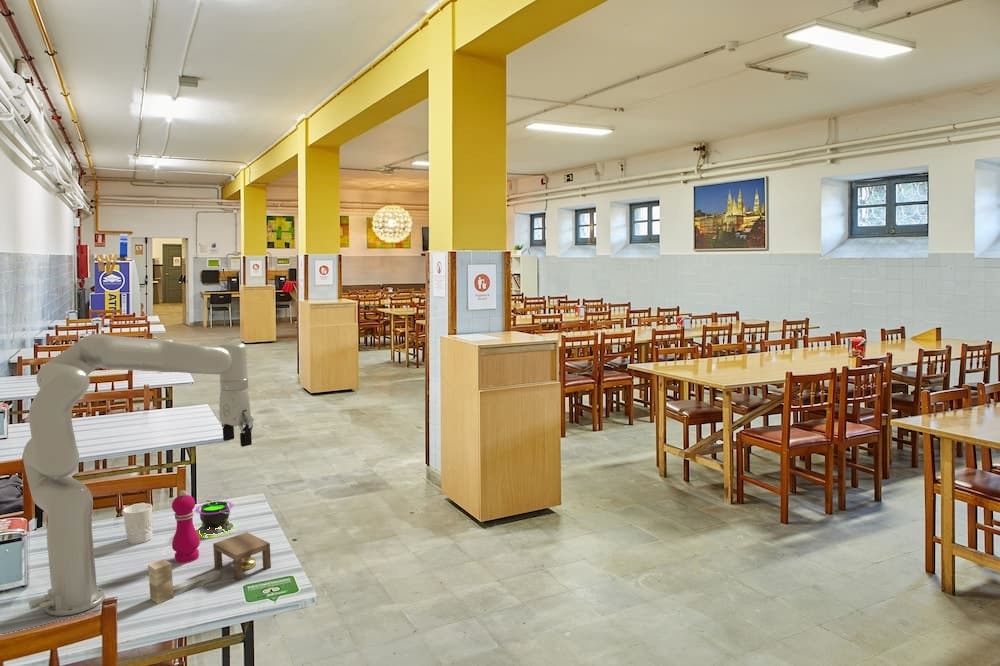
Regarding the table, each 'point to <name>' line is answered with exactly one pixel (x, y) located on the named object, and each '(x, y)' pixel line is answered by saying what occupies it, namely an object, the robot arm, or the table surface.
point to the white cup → (138, 522)
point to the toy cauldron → (214, 518)
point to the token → (248, 563)
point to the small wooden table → (241, 551)
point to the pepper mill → (185, 529)
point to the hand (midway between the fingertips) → (237, 442)
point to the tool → (164, 585)
